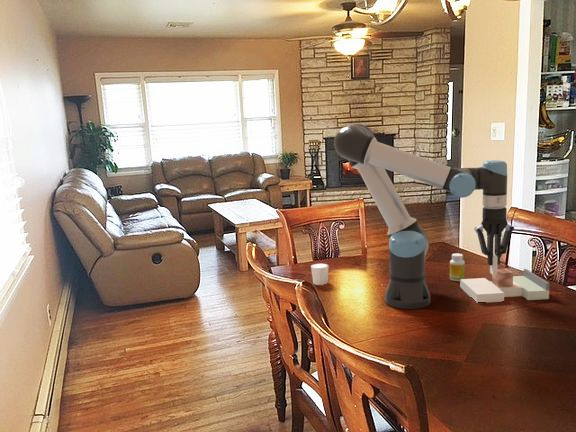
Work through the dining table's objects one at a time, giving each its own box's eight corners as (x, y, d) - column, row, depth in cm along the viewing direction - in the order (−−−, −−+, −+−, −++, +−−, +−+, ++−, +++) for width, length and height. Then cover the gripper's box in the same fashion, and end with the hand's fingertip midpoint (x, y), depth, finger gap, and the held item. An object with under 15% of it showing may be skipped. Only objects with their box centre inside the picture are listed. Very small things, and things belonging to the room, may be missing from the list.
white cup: (329, 279, 199) (328, 262, 197) (329, 285, 192) (328, 268, 191) (312, 280, 199) (311, 263, 198) (311, 285, 193) (310, 268, 191)
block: (498, 287, 171) (498, 273, 170) (492, 282, 176) (492, 269, 175) (512, 286, 171) (513, 272, 170) (506, 282, 176) (506, 268, 175)
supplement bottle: (461, 282, 187) (462, 257, 185) (447, 280, 190) (447, 255, 189) (466, 278, 191) (466, 253, 190) (452, 276, 195) (452, 252, 193)
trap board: (477, 303, 166) (477, 287, 165) (460, 287, 182) (460, 272, 181) (548, 298, 166) (549, 283, 165) (525, 283, 182) (526, 268, 181)
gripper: (479, 210, 165) (478, 278, 169) (518, 207, 165) (517, 276, 169) (471, 206, 172) (470, 271, 176) (508, 203, 172) (507, 269, 176)
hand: (493, 273), depth 173 cm, fingers closed
